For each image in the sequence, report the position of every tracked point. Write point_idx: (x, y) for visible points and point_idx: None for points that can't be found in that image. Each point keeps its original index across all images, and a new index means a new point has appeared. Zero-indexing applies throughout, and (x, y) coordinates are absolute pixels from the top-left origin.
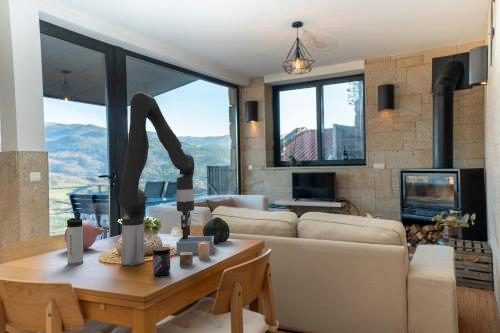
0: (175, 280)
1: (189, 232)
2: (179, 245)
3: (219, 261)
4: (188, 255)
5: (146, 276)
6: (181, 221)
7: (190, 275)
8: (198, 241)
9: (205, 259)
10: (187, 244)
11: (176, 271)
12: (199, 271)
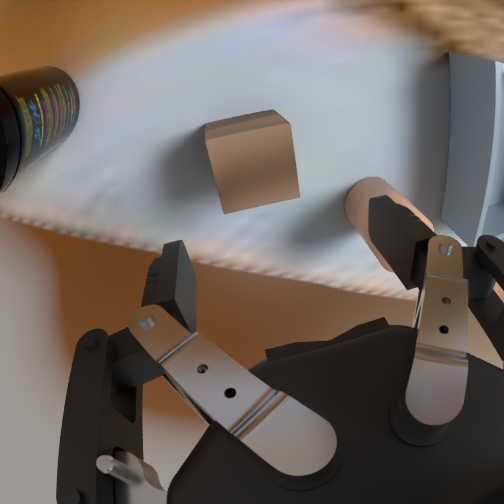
0: (10, 204)
1: (380, 249)
2: (482, 75)
3: (308, 278)
4: (219, 194)
5: (18, 51)
6: (64, 431)
7: (77, 233)
8: (492, 182)
9: (346, 215)
10: (484, 120)
11: (111, 146)
12: (139, 248)
